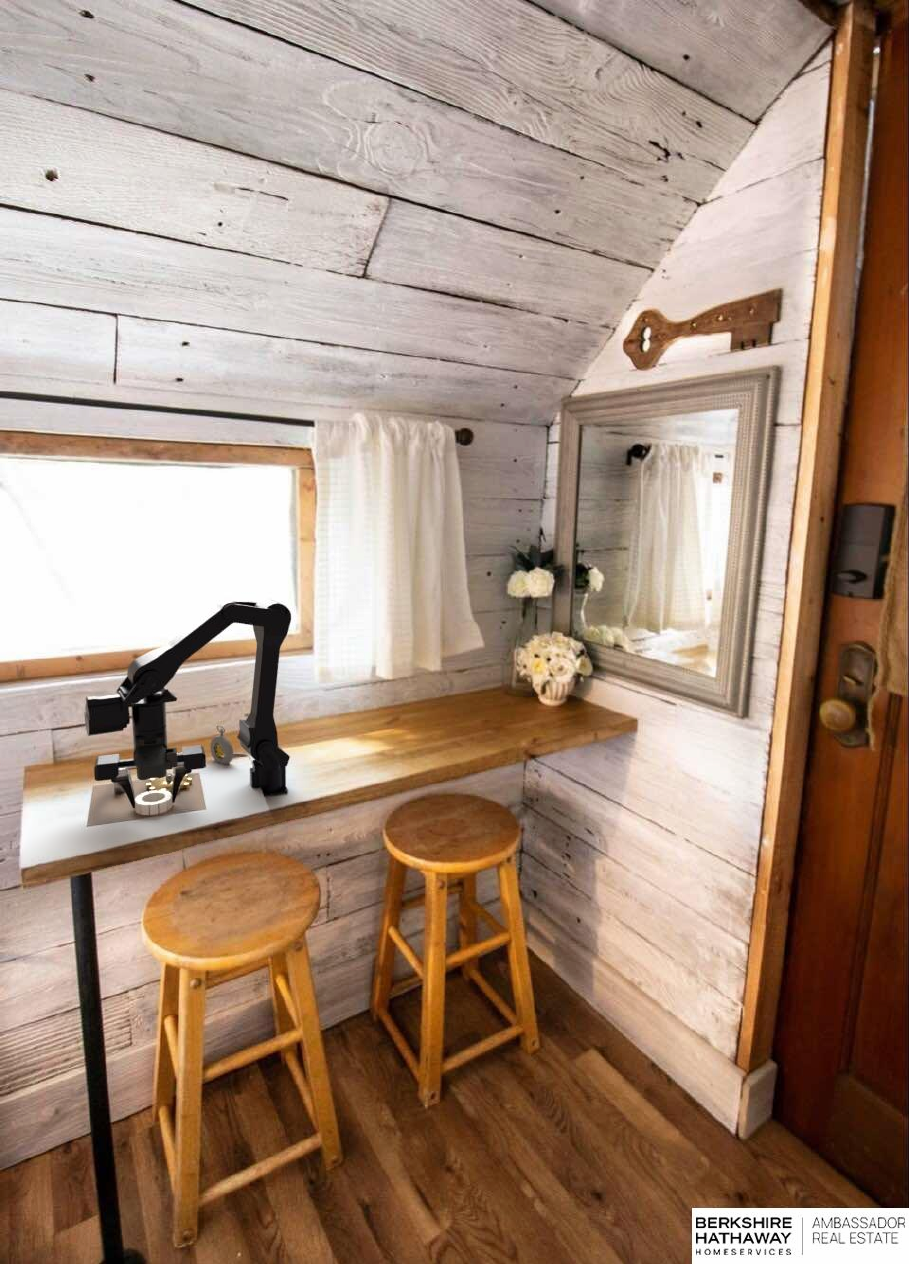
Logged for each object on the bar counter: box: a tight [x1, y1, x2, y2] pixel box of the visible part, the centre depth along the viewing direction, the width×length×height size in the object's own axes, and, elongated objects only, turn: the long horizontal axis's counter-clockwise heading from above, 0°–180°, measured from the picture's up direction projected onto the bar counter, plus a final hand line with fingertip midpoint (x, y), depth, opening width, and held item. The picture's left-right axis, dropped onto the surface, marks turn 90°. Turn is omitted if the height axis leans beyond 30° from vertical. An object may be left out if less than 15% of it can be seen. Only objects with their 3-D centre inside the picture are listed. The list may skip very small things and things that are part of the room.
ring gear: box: [135, 790, 172, 815], centre depth 129 cm, size 6×6×2 cm
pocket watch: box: [209, 725, 251, 765], centre depth 152 cm, size 8×8×10 cm
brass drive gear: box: [146, 773, 192, 793], centre depth 138 cm, size 8×8×2 cm
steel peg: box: [114, 783, 125, 795], centre depth 134 cm, size 2×2×3 cm
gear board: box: [86, 772, 207, 827], centre depth 133 cm, size 20×18×2 cm
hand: (153, 804), depth 129 cm, fingers closed on ring gear, 6 cm apart
